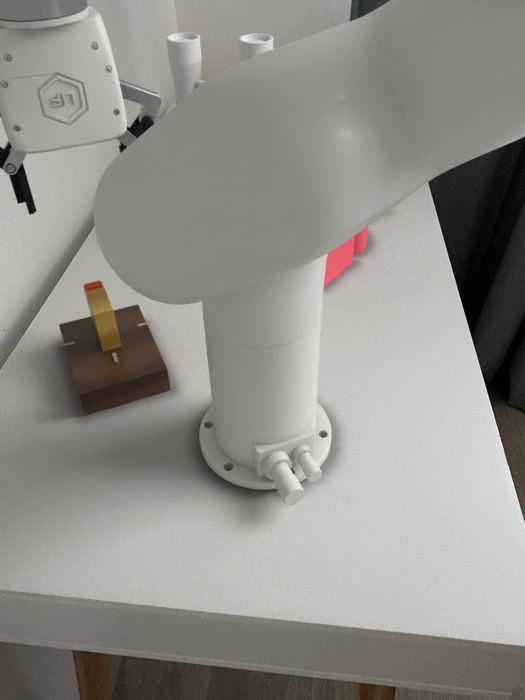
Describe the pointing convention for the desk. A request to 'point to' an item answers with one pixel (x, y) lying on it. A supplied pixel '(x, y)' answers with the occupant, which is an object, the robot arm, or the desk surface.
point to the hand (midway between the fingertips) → (82, 197)
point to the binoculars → (188, 58)
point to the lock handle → (102, 315)
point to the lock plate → (114, 362)
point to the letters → (344, 255)
